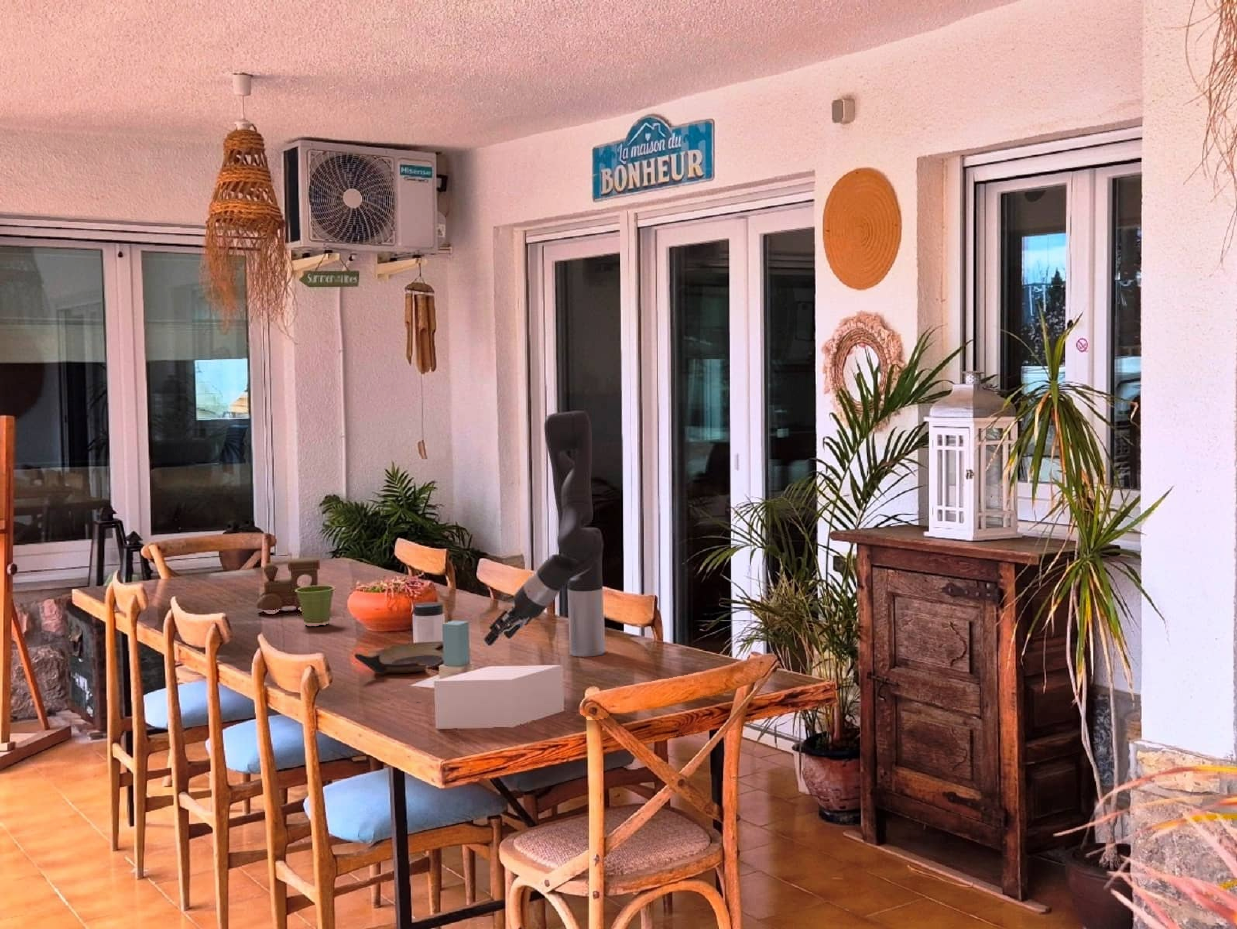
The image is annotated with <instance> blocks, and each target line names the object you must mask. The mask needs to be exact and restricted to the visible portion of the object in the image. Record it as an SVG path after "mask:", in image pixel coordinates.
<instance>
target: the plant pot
mask: <svg viewBox="0 0 1237 929" xmlns="http://www.w3.org/2000/svg"><path fill="white" fill-rule="evenodd" d="M307 586H308V585H307ZM307 586H301V587H302V588H298V589H296V590H295V592H297V595H298V599H299V601H300V606H301V610H302V612H301V615H302V619H303V623H304V622H306V623H323V622H327V621H329V622H330V619H331V608H332V601H333V600H332V598H333V594H334V590H336V587H335V586H334V585H318V586H308V587H307Z"/></svg>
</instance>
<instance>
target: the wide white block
mask: <svg viewBox="0 0 1237 929" xmlns="http://www.w3.org/2000/svg"><path fill="white" fill-rule="evenodd" d="M563 667H564V666H563V664H549V665H546V664H544V665H543V664H541V665H505V666H504V665H501V666H500V665H499V666H497V665H495V666H493V665H492V666H485V667H482V668H478V669H474V671H470V672H466V673H462V674H459V675H455V676H451V677H447V678H444V679H440V680H436V681H434V688H433V690H434V691H433V692H434V713H435V714H434V719H435V721H434V722H435V729H436V728H437V729H436V730H440V729H441V730H443V729H445V730H448V729H452V730H453V728H454V729H455V728H457V729H491V728H492V729H494V728H493V727H509V728H515V726H516V727H518V726H517V725H519V726H521V725H520V724H522V725H525V724H528V723H531V722H533V721H532V720H534V721H537V720H540V719H543V718H547V717H549V716H552V715H556V714H558V713H562V712H564V711H565V701H564V696H565V695H564V668H563ZM530 721H531V722H530ZM527 722H528V723H527ZM524 723H525V724H524Z"/></svg>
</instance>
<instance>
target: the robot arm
mask: <svg viewBox="0 0 1237 929" xmlns="http://www.w3.org/2000/svg"><path fill="white" fill-rule="evenodd" d="M543 427H544V428H543V430H544V436H545V442H546V446H547V447H546V448H547V451H548V455H549V462H550V465H551V472H552V486H553V492H554V493H553V494H554V500H555V506H556V511H557V516H558V517H557V518H558V525H559V531H558V535H557V539H556V540H557V547H558V549H559V551H560V553H561V554H552V555H550V556H549V557H547V559H546V560H545V561H544V562H543V563H542V564H541V566H540V567H539V568H538V569H537V570H536V571H535V572H534V573H532V575H530V576H529V578H528V579H527V580H526V581H525V582H524V583H523V584H522V586H521V587H520V588H519V589H518V590H517V591H516V592H515V594H514V595H513V598H512V599H513V602H514V606H511V607H510V608H509V609H508V610H504V611H502V613H501V614H500V615H499V616H498V617H497V618H496V620H494V622H493V623H492V624H491V625H490V626H489V629H490V631H489V633H488V634H487V635H485V637H484V639H483V640H484V642H485V643H486V644H487V645H488V646H492V645H493V644H495V642H496V641H497V640H498V638H500V636H502V635H505V637H506V638H507V639H508V640H509V639H512V638H513V636H515V634H516V633H517V632H518V631H519V630H520V629H523V627H524V626H527V625H528V624H529V623H530V622H531V621H532V619H535V618H536V619H537V618H538V617H540V616H541V615H542V613H543V612H544V611H545V610H546V609H547V608H548V607H549V606H550V604H551V603H552V602H553V601H554V600H555V598H557V596H558V595H559V593H560V592H561V591H562V589H563V588H564V587H565V586H566V585H567V608H568V612H567V613H568V642H569V643H568V644H569V645H568V646H569V655H570V656H573V657H582V658H583V657H584V658H585V657H597V656H601V655H603V654H605V651H606V640H605V639H606V634H605V630H606V629H605V616H604V592H603V591H604V590H603V589H604V587H603V550H604V541H603V534H602V532H601V529H599V527H586V526H587V525H589V524H590V523H591V522H592V520H593V518H594V510H593V499H592V497H593V496H592V486H591V485H592V480H591V477H592V462H593V460H592V459H593V458H592V457H593V456H592V453H593V451H592V450H593V448H592V447H593V446H592V445H593V441H592V440H593V438H592V434H593V433H592V423H591V420H590V416H589V414H588V412H586V411H585V410H573V411H565V412H555V413H551V414H548V415H547V416H546V417H545V420H544V426H543ZM575 450H578V453H577V454H578V455H577V458H576V461H574V460H572V459H571V458H570V457H569V455H567V453H566V452H567V451H575ZM584 526H585V527H584Z"/></svg>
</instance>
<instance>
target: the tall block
mask: <svg viewBox="0 0 1237 929" xmlns="http://www.w3.org/2000/svg"><path fill="white" fill-rule="evenodd" d="M442 632H443V648H442V650H443V658H444V666H456V667H461V666H463V665H466V664H468V663H470V662H471V654H470V627H469V621H467V620H466V621H463V620H451V621H448V622H445V623H444V624H442Z"/></svg>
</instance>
